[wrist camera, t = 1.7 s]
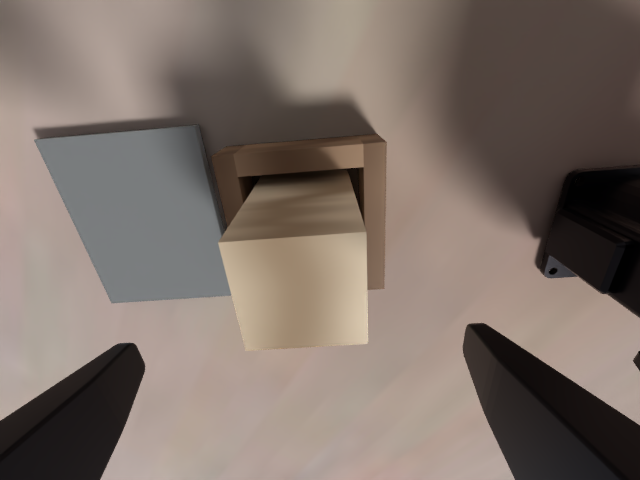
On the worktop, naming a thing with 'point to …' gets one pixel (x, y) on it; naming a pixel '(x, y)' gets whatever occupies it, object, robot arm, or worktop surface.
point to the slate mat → (143, 210)
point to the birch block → (299, 262)
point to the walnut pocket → (314, 156)
